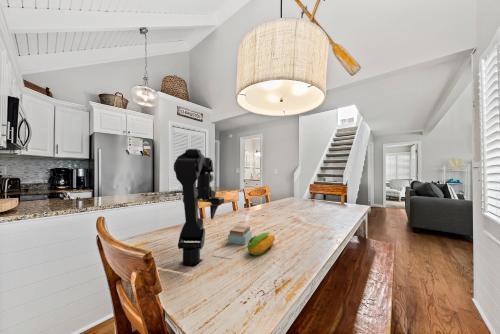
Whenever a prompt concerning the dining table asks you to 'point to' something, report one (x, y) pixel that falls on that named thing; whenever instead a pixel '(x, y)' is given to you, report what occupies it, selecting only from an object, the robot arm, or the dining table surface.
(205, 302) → the dining table surface
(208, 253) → the dining table surface
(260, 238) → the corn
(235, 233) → the board
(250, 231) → the dish
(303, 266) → the dining table surface
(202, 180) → the robot arm
